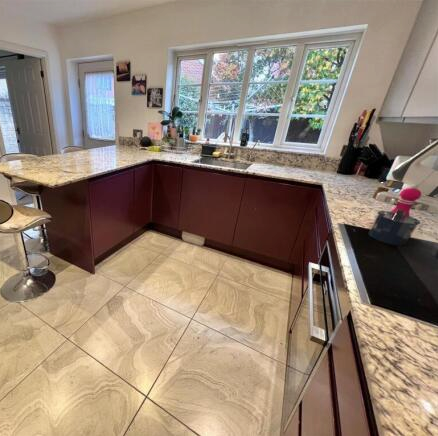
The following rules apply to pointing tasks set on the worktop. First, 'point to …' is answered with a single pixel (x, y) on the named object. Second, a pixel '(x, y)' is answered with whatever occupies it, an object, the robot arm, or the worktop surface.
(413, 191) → the pepper mill
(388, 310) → the worktop surface
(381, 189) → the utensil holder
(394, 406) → the worktop surface
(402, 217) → the pot lid
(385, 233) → the pot
